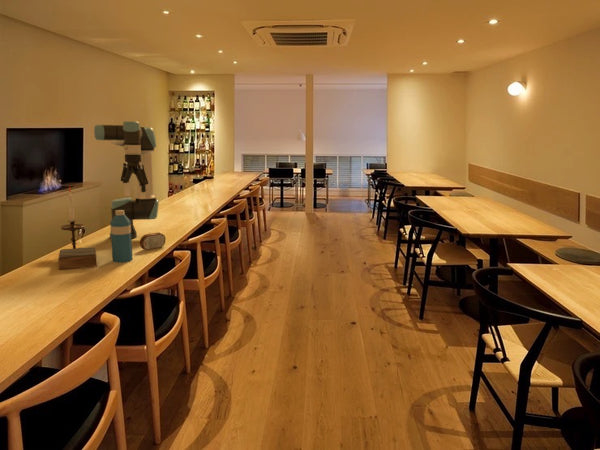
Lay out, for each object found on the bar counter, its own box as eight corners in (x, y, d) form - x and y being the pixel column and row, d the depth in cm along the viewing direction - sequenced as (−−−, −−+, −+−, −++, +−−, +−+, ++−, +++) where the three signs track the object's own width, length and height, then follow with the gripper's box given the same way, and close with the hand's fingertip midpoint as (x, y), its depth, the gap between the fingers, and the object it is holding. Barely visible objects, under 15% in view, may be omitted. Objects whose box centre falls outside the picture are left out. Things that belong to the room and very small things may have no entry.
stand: (60, 261, 238) (59, 249, 237) (96, 258, 244) (95, 246, 243) (59, 270, 224) (58, 257, 223) (96, 266, 230) (96, 254, 229)
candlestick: (84, 255, 249) (79, 187, 242) (61, 256, 246) (55, 187, 239) (87, 250, 260) (82, 184, 253) (65, 251, 257) (59, 185, 250)
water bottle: (113, 263, 236) (110, 212, 231) (112, 258, 244) (109, 209, 239) (133, 261, 240) (130, 211, 235) (131, 257, 248) (129, 208, 243)
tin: (163, 245, 272) (162, 231, 271) (166, 246, 270) (166, 231, 269) (139, 250, 261) (138, 235, 259) (143, 251, 259) (142, 236, 257)
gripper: (111, 152, 240) (114, 195, 245) (140, 155, 225) (142, 200, 229) (125, 152, 246) (127, 193, 250) (154, 154, 231) (156, 199, 235)
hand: (134, 197), depth 240 cm, fingers open, 13 cm apart
